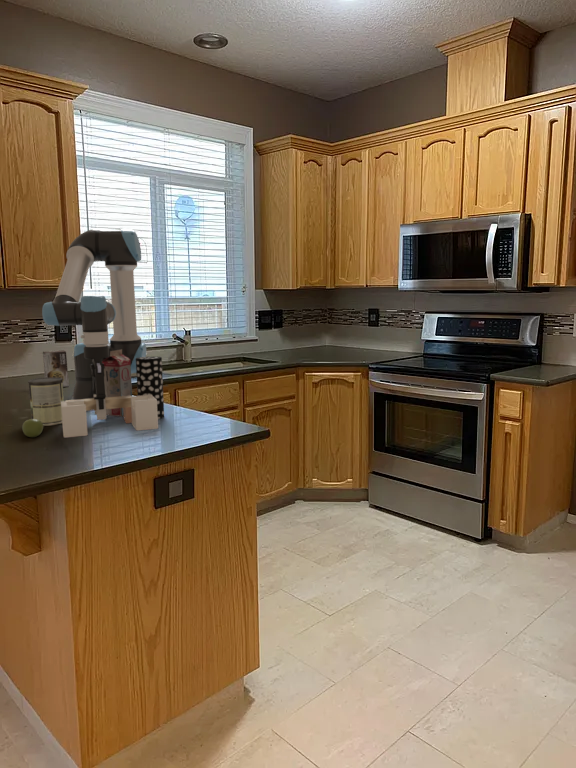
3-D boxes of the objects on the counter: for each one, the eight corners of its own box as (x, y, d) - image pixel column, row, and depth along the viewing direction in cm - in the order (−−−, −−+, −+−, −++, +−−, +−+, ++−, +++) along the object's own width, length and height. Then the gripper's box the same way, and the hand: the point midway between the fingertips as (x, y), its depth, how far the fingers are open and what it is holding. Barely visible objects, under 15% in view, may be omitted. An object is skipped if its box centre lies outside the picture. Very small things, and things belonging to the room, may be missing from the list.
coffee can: (25, 423, 189) (21, 380, 187) (55, 417, 197) (52, 376, 194) (41, 427, 182) (38, 382, 180) (72, 421, 190) (69, 378, 188)
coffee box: (66, 384, 270) (63, 349, 267) (69, 386, 264) (66, 351, 262) (45, 386, 265) (42, 351, 262) (47, 388, 260) (45, 352, 257)
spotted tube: (134, 417, 196) (130, 358, 193) (155, 413, 201) (152, 355, 198) (147, 421, 190) (144, 359, 187) (169, 417, 196) (166, 357, 192)
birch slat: (66, 412, 180) (66, 402, 180) (66, 409, 184) (65, 400, 184) (133, 406, 188) (132, 397, 187) (131, 404, 192) (130, 395, 191)
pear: (20, 420, 167) (24, 419, 176) (21, 438, 167) (25, 436, 176) (41, 418, 169) (44, 417, 178) (42, 436, 169) (45, 434, 178)
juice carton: (133, 412, 204) (129, 349, 201) (122, 416, 198) (118, 351, 194) (116, 411, 206) (113, 349, 203) (105, 415, 200) (101, 351, 196)
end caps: (63, 437, 169) (61, 407, 167) (62, 430, 177) (60, 401, 176) (158, 428, 179) (156, 399, 178) (152, 422, 188) (151, 394, 186)
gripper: (81, 343, 191) (85, 411, 194) (85, 348, 172) (90, 424, 175) (105, 342, 194) (109, 409, 197) (112, 347, 175) (116, 422, 178)
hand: (100, 416), depth 186 cm, fingers open, 8 cm apart
